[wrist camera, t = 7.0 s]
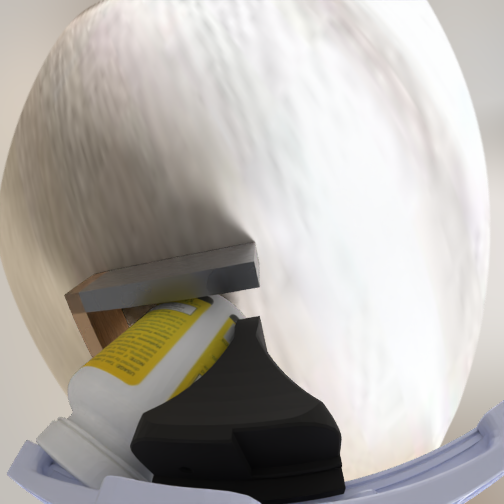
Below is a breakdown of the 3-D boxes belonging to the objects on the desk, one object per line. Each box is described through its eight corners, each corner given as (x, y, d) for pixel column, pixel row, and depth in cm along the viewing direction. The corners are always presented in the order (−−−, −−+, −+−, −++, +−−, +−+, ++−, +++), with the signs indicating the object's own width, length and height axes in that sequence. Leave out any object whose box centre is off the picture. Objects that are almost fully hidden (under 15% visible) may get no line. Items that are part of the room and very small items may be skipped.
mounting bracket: (284, 390, 15) (288, 426, 12) (151, 400, 16) (138, 431, 13) (254, 241, 12) (254, 261, 10) (94, 273, 13) (64, 294, 10)
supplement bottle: (150, 329, 14) (30, 438, 6) (187, 262, 12) (2, 395, 3) (224, 386, 14) (137, 524, 5) (281, 335, 12) (184, 542, 3)
